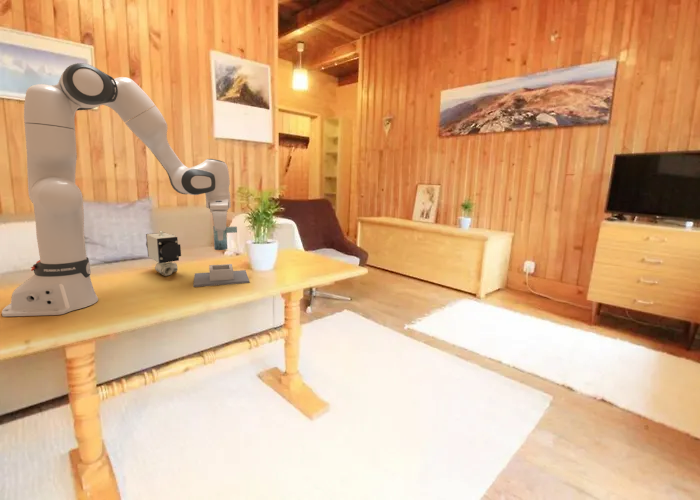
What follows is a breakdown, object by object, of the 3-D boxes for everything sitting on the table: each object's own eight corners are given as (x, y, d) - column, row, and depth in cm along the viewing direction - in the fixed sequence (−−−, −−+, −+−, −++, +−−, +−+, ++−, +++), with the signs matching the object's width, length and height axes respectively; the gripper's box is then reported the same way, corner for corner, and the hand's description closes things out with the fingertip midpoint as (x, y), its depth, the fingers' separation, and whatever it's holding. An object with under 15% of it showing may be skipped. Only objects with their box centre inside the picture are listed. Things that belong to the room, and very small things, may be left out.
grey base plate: (193, 287, 131) (192, 274, 130) (194, 275, 145) (194, 263, 144) (249, 282, 138) (249, 270, 137) (245, 271, 153) (245, 261, 152)
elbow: (214, 250, 136) (213, 227, 134) (214, 247, 141) (213, 225, 139) (237, 249, 139) (237, 226, 137) (237, 246, 144) (236, 224, 142)
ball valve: (185, 276, 143) (182, 233, 139) (162, 280, 137) (159, 235, 133) (168, 267, 155) (165, 227, 151) (147, 270, 149) (143, 229, 145)
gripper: (209, 200, 144) (211, 234, 147) (209, 205, 125) (212, 244, 128) (225, 200, 146) (227, 233, 149) (228, 205, 127) (230, 243, 130)
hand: (220, 238), depth 138 cm, fingers closed on elbow, 5 cm apart
